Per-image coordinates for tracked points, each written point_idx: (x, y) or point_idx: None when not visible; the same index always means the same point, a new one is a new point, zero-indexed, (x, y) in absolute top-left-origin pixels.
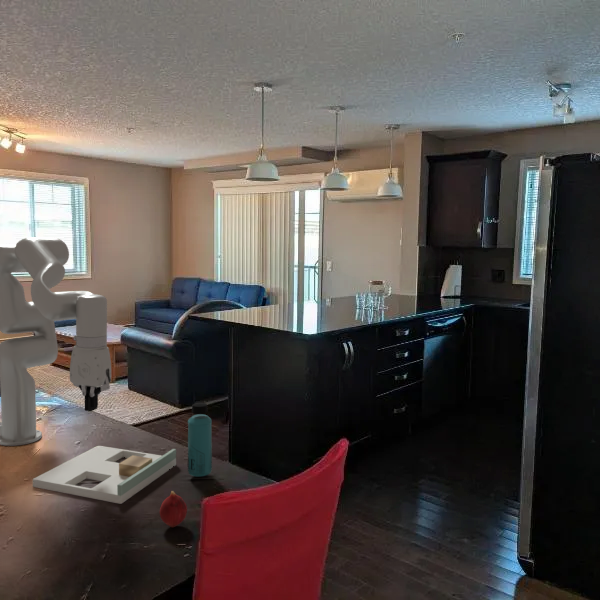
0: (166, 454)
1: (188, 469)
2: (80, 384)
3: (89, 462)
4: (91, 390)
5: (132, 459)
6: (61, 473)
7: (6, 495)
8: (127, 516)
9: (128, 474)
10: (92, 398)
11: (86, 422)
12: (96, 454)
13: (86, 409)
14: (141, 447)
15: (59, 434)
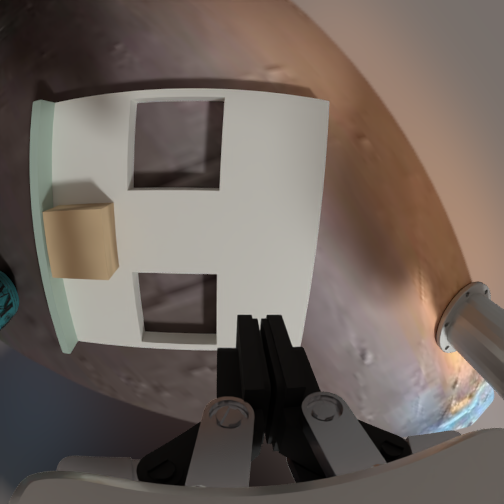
0: (55, 319)
1: (4, 281)
2: (388, 468)
3: (251, 248)
4: (234, 452)
5: (87, 252)
6: (278, 152)
7: (344, 55)
8: (27, 76)
9: (83, 204)
10: (233, 394)
11: (387, 416)
12: (268, 301)
13: (268, 320)
14: (213, 387)
15: (413, 365)
